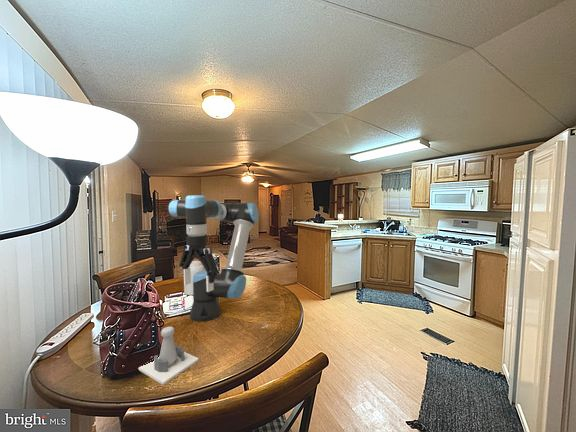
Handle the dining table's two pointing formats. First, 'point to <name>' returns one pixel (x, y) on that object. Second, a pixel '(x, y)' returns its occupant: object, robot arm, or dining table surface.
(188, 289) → the can
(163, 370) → the square base with blocks
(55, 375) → the dining table surface
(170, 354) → the salt shaker
